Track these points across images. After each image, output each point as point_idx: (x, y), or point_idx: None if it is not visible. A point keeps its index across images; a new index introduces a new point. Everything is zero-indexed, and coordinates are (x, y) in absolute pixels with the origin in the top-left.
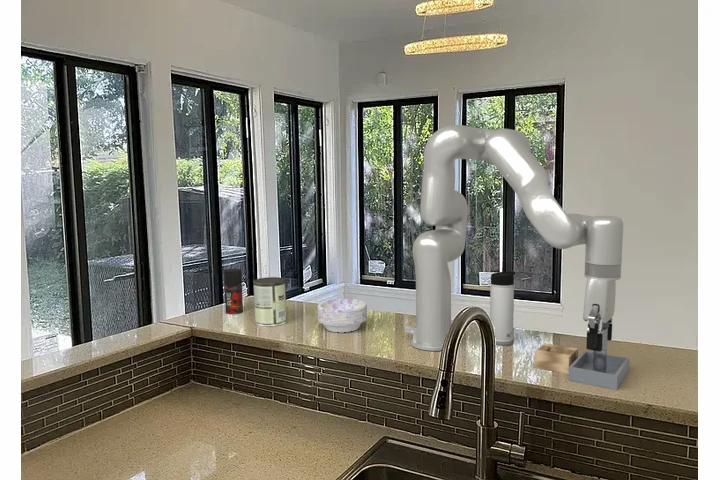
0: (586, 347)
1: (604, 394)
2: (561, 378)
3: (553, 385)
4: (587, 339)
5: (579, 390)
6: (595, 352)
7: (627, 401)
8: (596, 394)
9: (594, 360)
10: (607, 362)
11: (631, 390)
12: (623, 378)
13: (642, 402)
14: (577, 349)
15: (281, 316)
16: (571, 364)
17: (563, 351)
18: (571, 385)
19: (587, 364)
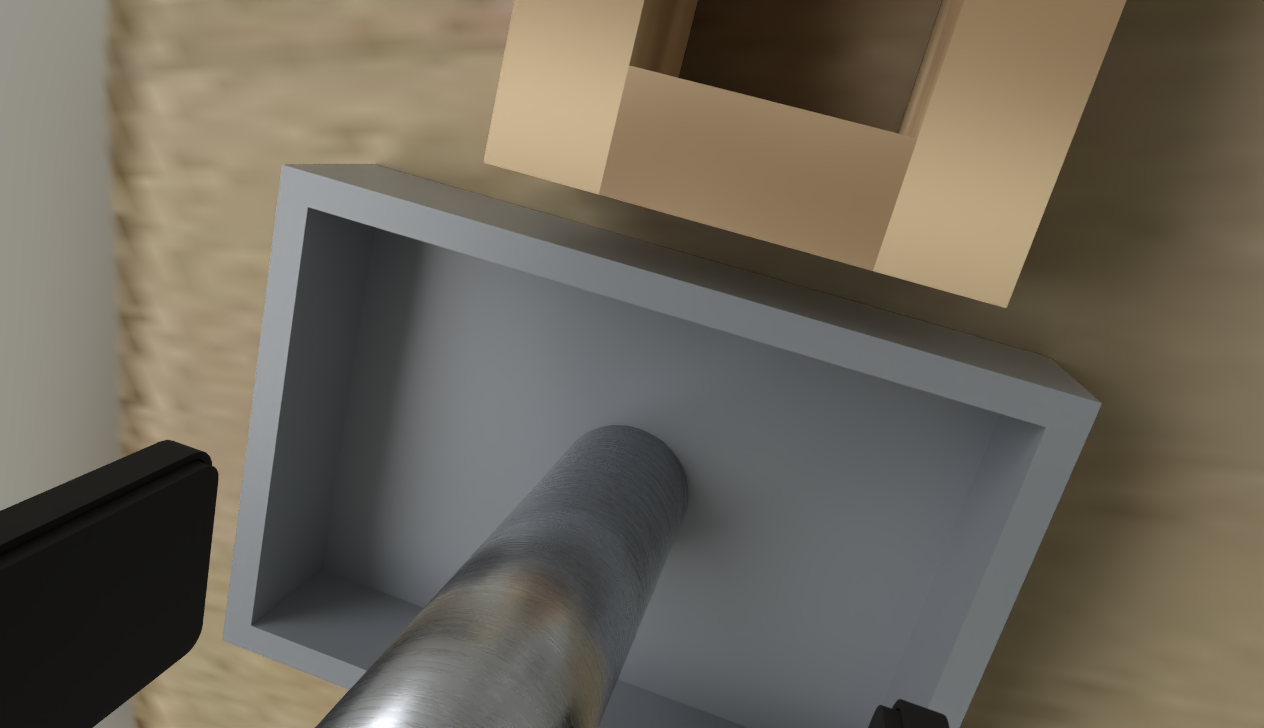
0: (158, 445)
1: None
2: (408, 89)
3: (189, 17)
4: (29, 512)
5: (175, 264)
6: (483, 545)
7: None
8: (152, 399)
9: (534, 489)
10: (925, 627)
11: None
12: None
13: (152, 698)
14: (971, 297)
15: None
16: (391, 197)
17: (934, 68)
18: (260, 194)
19: (892, 391)
